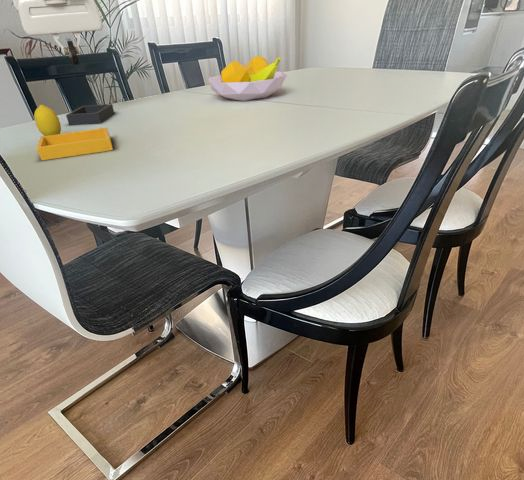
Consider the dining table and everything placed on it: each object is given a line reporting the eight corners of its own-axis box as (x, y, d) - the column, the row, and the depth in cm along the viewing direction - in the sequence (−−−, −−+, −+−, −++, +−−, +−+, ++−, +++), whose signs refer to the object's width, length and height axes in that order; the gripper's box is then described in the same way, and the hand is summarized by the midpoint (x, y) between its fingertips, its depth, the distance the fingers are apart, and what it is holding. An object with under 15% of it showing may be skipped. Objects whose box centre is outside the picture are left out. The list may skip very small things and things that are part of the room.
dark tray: (101, 123, 113) (98, 112, 111) (69, 125, 113) (65, 115, 112) (114, 113, 123) (112, 104, 121) (85, 115, 123) (82, 105, 122)
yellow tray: (41, 160, 86) (36, 147, 84) (45, 148, 94) (40, 136, 92) (113, 150, 89) (109, 137, 87) (110, 139, 97) (107, 127, 96)
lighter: (73, 73, 112) (67, 54, 111) (81, 73, 112) (74, 53, 111) (69, 56, 104) (62, 35, 103) (77, 56, 105) (70, 35, 104)
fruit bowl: (199, 97, 137) (194, 57, 130) (267, 87, 145) (266, 49, 137) (227, 109, 118) (222, 63, 110) (304, 97, 126) (305, 54, 118)
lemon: (43, 144, 97) (28, 107, 92) (43, 140, 101) (29, 104, 95) (66, 141, 98) (53, 104, 93) (65, 136, 102) (52, 101, 97)
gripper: (6, -12, 94) (31, 58, 103) (92, -17, 98) (110, 51, 107) (9, -11, 98) (34, 57, 107) (92, -15, 103) (108, 50, 112)
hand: (72, 54), depth 107 cm, fingers closed on lighter, 2 cm apart
